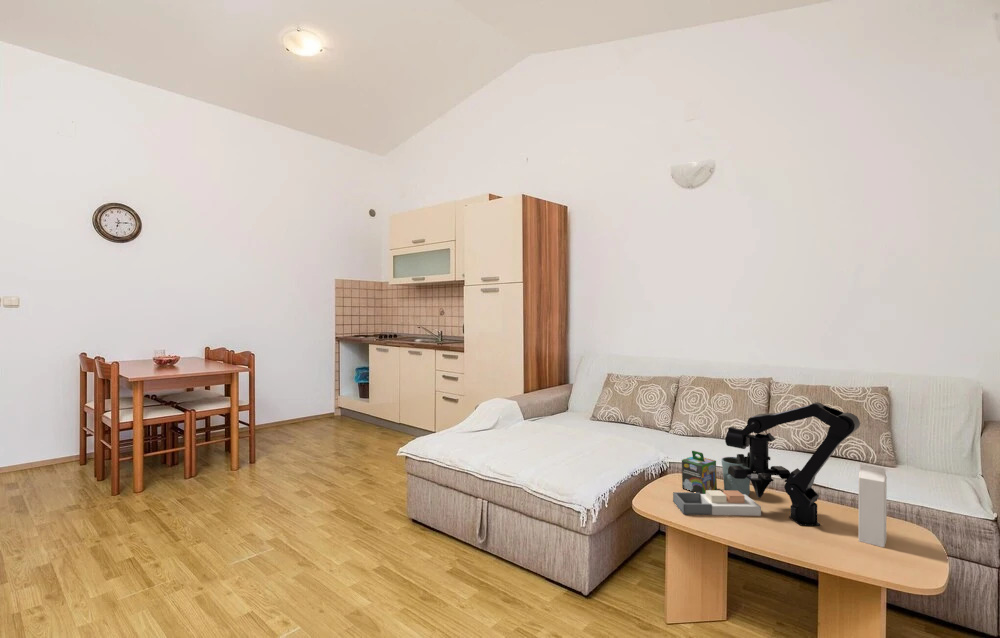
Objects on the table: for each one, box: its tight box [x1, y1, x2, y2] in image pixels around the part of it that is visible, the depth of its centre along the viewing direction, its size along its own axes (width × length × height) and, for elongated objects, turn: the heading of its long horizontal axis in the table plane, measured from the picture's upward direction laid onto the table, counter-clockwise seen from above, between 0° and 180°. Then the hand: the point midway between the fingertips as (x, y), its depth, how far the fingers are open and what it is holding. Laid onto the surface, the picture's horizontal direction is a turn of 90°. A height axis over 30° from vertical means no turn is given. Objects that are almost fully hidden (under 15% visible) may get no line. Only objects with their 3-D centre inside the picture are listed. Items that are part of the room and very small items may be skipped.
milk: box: [858, 464, 888, 548], centre depth 143 cm, size 6×6×22 cm
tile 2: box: [722, 489, 745, 503], centre depth 167 cm, size 5×5×2 cm
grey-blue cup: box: [721, 456, 751, 497], centre depth 182 cm, size 10×10×12 cm
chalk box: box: [681, 450, 718, 494], centre depth 185 cm, size 9×9×15 cm
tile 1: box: [706, 489, 727, 503], centre depth 167 cm, size 5×5×2 cm
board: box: [700, 494, 762, 517], centre depth 167 cm, size 16×11×3 cm
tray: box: [672, 491, 713, 516], centre depth 167 cm, size 9×11×4 cm
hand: (758, 497), depth 166 cm, fingers closed
